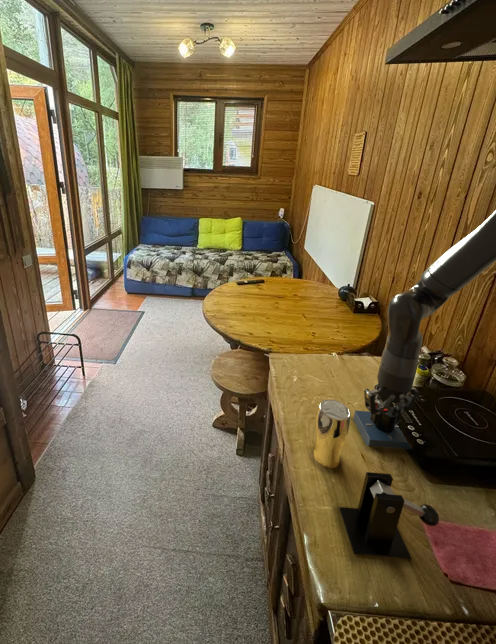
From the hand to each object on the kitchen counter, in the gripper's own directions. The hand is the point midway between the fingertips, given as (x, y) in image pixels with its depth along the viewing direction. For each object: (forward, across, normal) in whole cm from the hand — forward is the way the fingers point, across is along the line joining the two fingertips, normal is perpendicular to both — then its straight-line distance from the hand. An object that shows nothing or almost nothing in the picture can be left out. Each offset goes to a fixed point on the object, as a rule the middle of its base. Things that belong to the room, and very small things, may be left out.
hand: (384, 422), depth 80 cm
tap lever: (-3, -14, -22) cm, 27 cm away
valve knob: (+1, 0, 0) cm, 1 cm away
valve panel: (+4, 0, 0) cm, 4 cm away
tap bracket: (+4, -18, -22) cm, 29 cm away
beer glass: (+4, -19, -5) cm, 20 cm away
